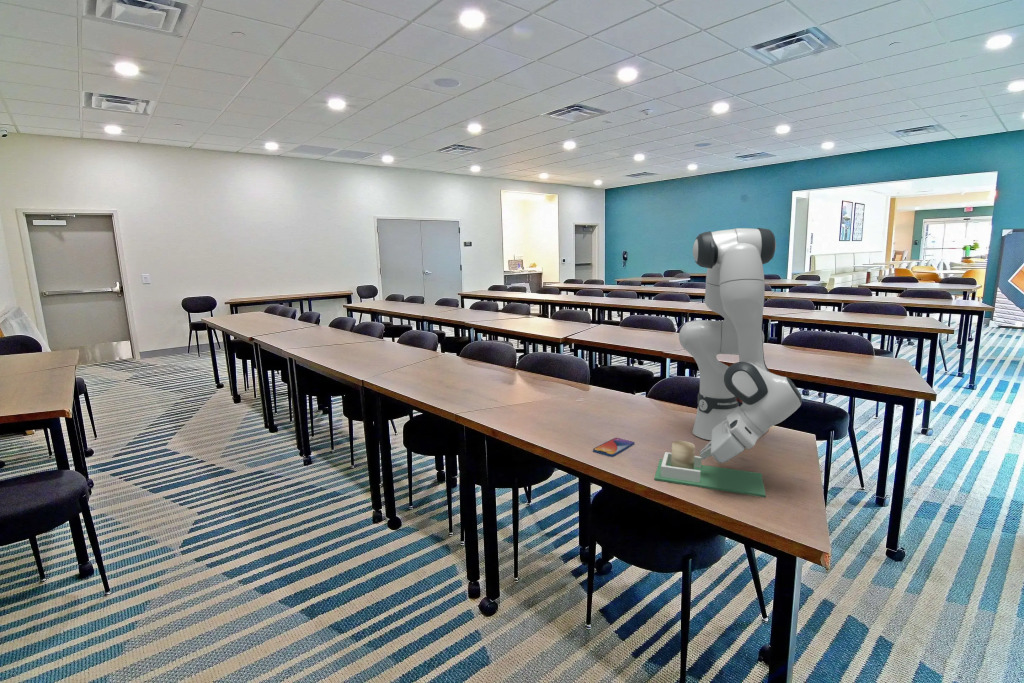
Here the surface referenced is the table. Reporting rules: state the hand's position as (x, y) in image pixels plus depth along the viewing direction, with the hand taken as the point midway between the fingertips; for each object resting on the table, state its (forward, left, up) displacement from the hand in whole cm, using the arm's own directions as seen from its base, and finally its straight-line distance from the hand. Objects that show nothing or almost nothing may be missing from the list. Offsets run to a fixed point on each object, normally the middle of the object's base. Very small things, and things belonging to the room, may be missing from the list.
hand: (701, 455), depth 135 cm
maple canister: (+4, -3, -5) cm, 7 cm away
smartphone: (+10, -27, -7) cm, 30 cm away
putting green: (-1, +2, -6) cm, 6 cm away
